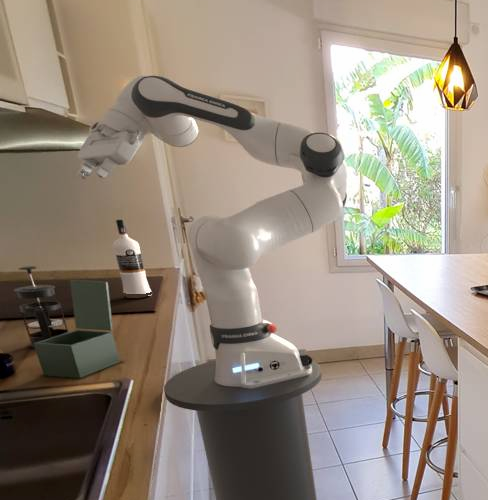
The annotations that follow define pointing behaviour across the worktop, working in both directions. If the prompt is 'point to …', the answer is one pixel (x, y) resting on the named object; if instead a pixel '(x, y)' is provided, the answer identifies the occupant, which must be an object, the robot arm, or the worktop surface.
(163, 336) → the worktop surface
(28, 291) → the french press
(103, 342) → the green box
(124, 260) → the vodka
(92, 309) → the lid
